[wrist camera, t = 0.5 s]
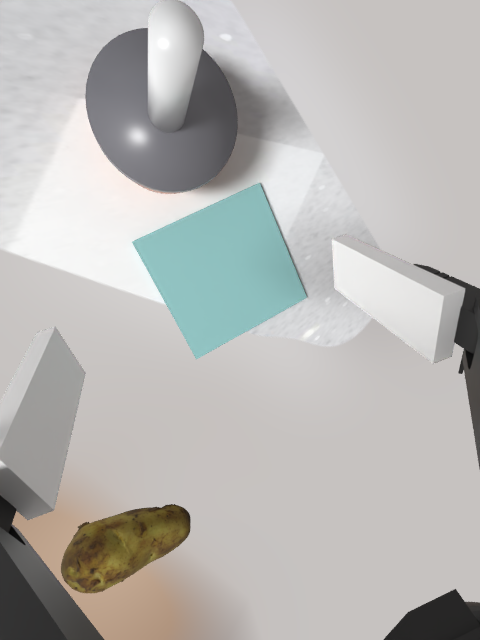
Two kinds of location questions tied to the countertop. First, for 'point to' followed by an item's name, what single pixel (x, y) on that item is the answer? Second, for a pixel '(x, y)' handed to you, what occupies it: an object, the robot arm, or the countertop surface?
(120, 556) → the potato
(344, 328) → the countertop surface
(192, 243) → the mat
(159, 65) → the lid
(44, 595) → the robot arm
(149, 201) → the countertop surface
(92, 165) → the countertop surface
